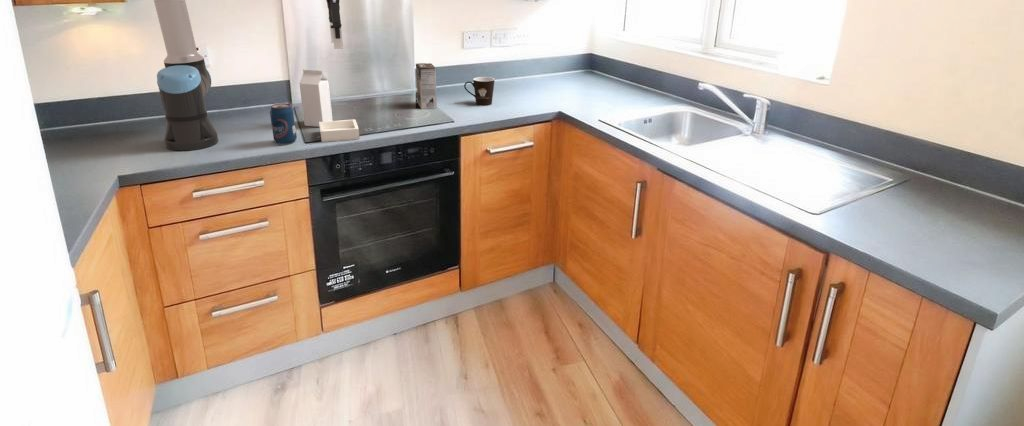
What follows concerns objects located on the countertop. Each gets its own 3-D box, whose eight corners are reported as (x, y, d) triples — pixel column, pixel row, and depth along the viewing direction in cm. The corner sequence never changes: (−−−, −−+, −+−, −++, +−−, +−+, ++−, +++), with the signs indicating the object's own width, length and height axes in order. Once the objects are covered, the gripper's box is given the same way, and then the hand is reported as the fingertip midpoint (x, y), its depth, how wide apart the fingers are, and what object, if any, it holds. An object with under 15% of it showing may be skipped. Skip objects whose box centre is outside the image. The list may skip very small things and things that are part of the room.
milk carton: (323, 127, 210) (317, 72, 202) (304, 126, 212) (297, 71, 204) (332, 122, 217) (327, 68, 209) (314, 120, 218) (308, 67, 210)
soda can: (270, 144, 191) (265, 107, 187) (279, 138, 198) (274, 102, 193) (291, 145, 191) (286, 108, 186) (300, 139, 197) (295, 103, 192)
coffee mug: (498, 103, 247) (498, 78, 242) (486, 107, 240) (486, 82, 236) (475, 99, 252) (475, 75, 248) (463, 103, 245) (462, 78, 241)
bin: (321, 142, 195) (320, 131, 194) (320, 131, 205) (319, 121, 204) (359, 139, 199) (358, 128, 197) (356, 129, 209) (355, 119, 208)
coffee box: (417, 103, 243) (415, 63, 237) (433, 102, 245) (431, 62, 239) (420, 109, 235) (419, 67, 229) (437, 108, 237) (435, 66, 231)
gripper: (346, -20, 187) (352, 50, 195) (339, -24, 208) (345, 39, 217) (320, -20, 184) (328, 51, 193) (316, -24, 206) (323, 40, 215)
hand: (337, 45), depth 205 cm, fingers open, 13 cm apart
